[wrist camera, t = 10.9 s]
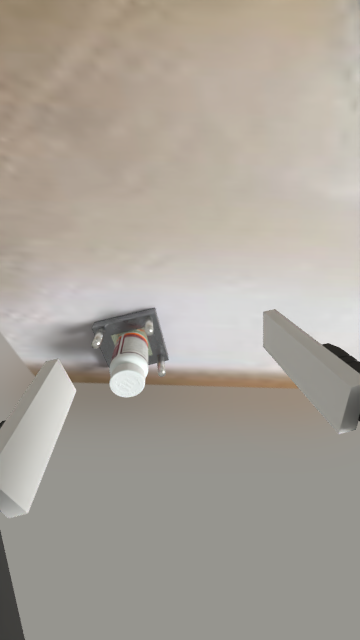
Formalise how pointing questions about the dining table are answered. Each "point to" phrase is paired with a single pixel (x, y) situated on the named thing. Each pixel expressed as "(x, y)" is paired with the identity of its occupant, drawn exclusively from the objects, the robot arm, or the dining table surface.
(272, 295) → the dining table surface
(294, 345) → the robot arm
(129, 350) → the pill bottle
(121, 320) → the chassis
